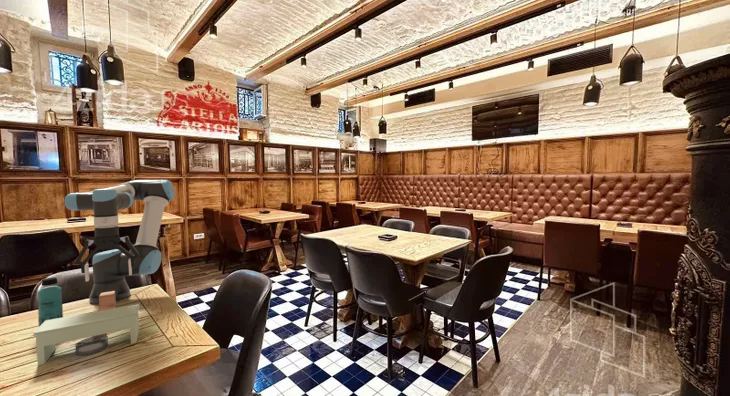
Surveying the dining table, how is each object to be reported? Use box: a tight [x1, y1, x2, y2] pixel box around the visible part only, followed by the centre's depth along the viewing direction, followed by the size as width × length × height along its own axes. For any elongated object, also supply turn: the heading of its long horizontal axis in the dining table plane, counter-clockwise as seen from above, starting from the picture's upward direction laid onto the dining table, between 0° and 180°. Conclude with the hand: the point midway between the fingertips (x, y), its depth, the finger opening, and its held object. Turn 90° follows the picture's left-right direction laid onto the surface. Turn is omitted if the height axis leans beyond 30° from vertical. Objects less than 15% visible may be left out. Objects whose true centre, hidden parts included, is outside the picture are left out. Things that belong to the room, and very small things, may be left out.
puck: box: [74, 334, 109, 357], centre depth 100 cm, size 8×8×3 cm
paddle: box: [92, 291, 117, 337], centre depth 117 cm, size 22×4×10 cm, turn 33°
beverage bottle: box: [37, 277, 64, 328], centre depth 113 cm, size 6×7×20 cm
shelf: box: [32, 303, 141, 366], centre depth 101 cm, size 10×25×10 cm, turn 123°
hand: (109, 277), depth 123 cm, fingers open, 13 cm apart
